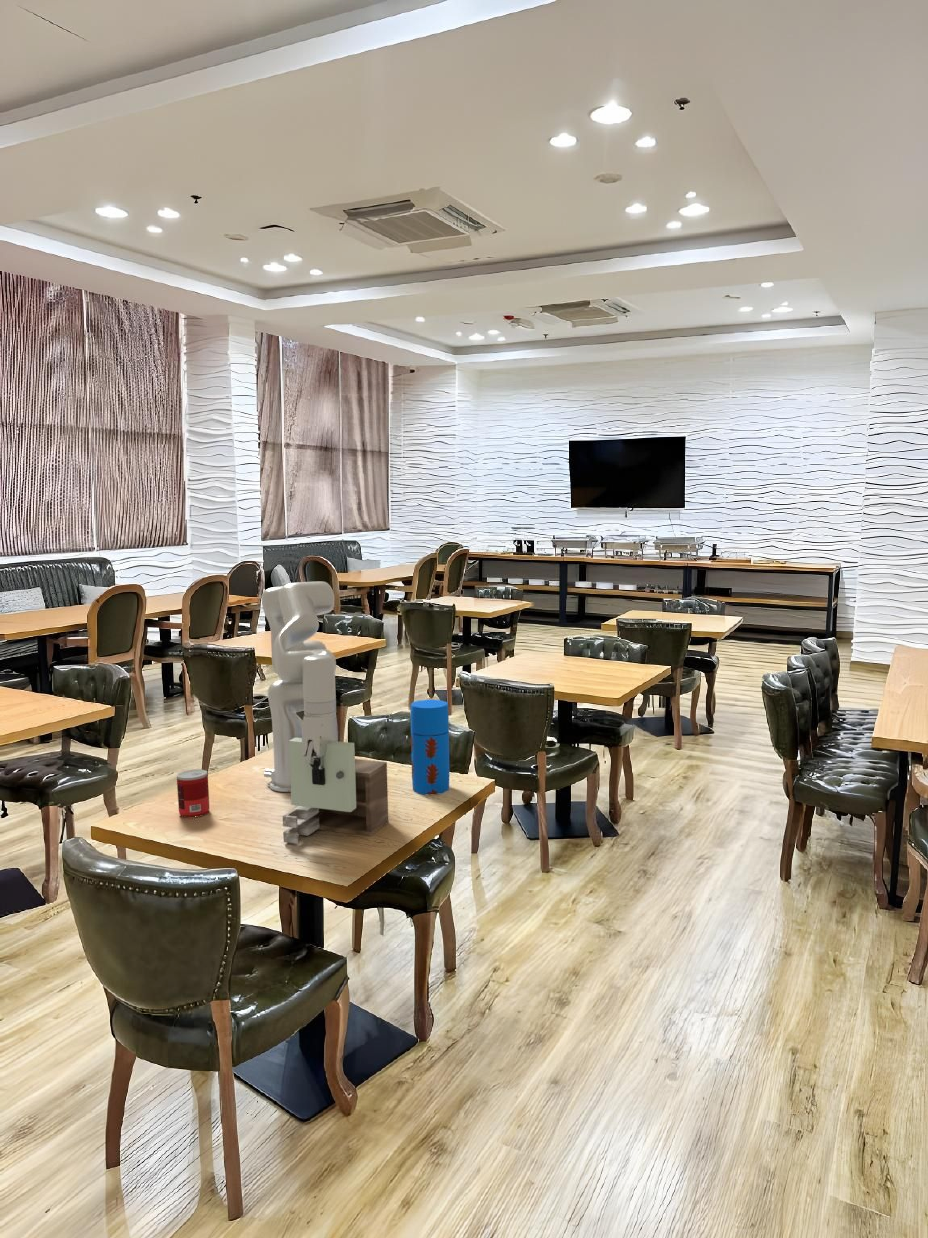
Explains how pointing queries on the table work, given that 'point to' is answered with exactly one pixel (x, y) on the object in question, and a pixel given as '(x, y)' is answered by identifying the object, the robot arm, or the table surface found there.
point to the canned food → (193, 792)
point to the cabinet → (359, 821)
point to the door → (337, 777)
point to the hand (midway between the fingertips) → (322, 781)
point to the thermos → (430, 746)
